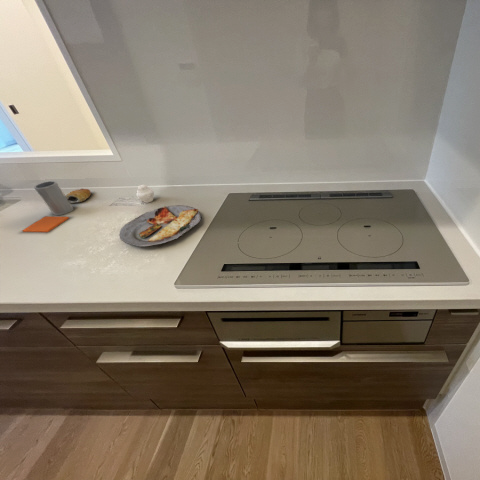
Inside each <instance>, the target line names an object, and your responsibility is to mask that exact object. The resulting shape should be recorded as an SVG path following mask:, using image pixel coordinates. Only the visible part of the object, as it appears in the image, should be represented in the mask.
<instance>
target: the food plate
mask: <svg viewBox="0 0 480 480" xmlns="http://www.w3.org/2000/svg"><path fill="white" fill-rule="evenodd" d="M201 220H202V215H201V211H200V210H199V209H198V208H195V207H193V206H189V205H184V204H178V205H167V206H166V205H164V206H162V207H159V208H155V209H153V210H150V211H146V212H144V213H142V214H140V215H138V216H137V217H136V218H134V219H132V220H130V221H128V223H125V224H124V225H123V226H122V227H121V229H120V230H119V234H118V235H119V239H120V240H121V241H122V242H123V243H125V244H128V245H132V246H137V247H149V246H157V245H161V244H165V243H167V242H171V241H174V240H175V239H179V238H180V237H181V236H183V235H184V234H186V233H187V232H188V231H190V230H191V229H192V228H194V227H195V226H196V225H197V224H199V223H200V222H201Z"/></svg>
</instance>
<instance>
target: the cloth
mask: <svg viewBox="0 0 480 480" xmlns="http://www.w3.org/2000/svg"><path fill="white" fill-rule="evenodd" d="M68 219H70V217H69V216H48V215H47V216H43V217H42V218H40V219H39V220H37V221H35V222H34V223H32V224H30V225H29V226H27V227H25V228H23V229H22V230H21V231H22V232H23V233H49V232H51V231H52V230H53V229H55V228H56V227H58V226H59V225H61V224H62V223H64V222H66V221H67V220H68Z"/></svg>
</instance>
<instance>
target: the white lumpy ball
mask: <svg viewBox="0 0 480 480" xmlns="http://www.w3.org/2000/svg"><path fill="white" fill-rule="evenodd" d="M135 196H136V197H137V198H138V199H139V200H140V201H142V202H143V203H145V204H147V203H152V202H153V201H154V197H155V190H154V189H152V188H150V187H149V186H148V185H147V184H140V185H138V186H137V191H136V194H135Z"/></svg>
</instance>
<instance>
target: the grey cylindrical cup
mask: <svg viewBox="0 0 480 480" xmlns="http://www.w3.org/2000/svg"><path fill="white" fill-rule="evenodd" d="M33 189H35V191H36V192H37V194H38V195H39V197H40V198H41V199H42V201H43V202H44V203H45V205H46V206H47V207H48V209H49V210H50V211H51V213H52V214H53V216H61V215H66V214H69V213H71V212H72V211H73V210H74V207H73V205H72V203H70V202H69V200H68V199H67V197H66V196H67V195H65V193H64V192H63V190H62V188H61V187H60V185H59V184H58V182H57V181H55V180H50V181H49V180H48V181H44V182H40V183H37V184H36V185H34V187H33Z"/></svg>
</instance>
